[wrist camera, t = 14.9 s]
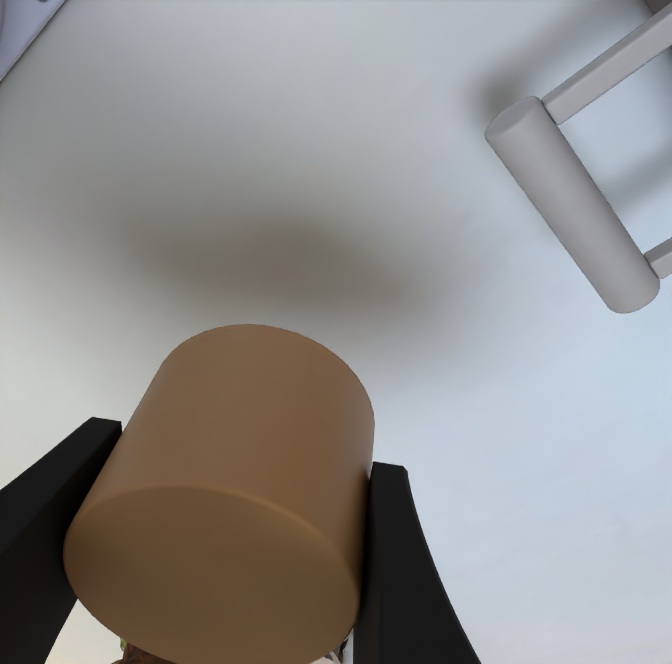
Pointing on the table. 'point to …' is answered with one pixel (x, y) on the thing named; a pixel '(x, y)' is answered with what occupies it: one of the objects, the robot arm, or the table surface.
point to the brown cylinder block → (232, 505)
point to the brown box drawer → (573, 179)
